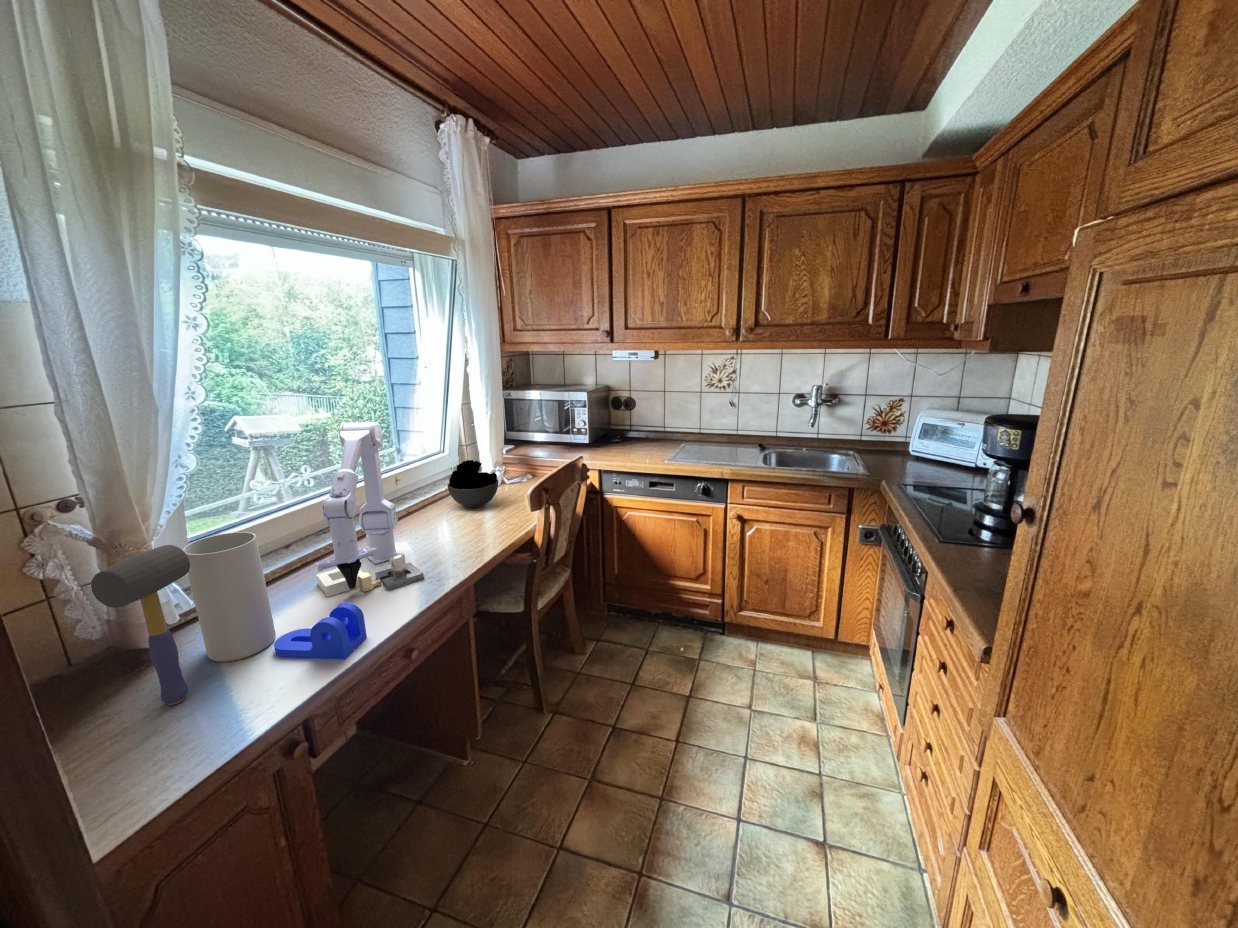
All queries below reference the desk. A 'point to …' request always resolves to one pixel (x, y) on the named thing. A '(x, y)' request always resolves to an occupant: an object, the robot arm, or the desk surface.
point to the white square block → (334, 582)
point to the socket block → (391, 583)
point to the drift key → (367, 582)
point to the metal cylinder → (398, 565)
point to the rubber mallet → (149, 606)
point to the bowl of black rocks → (472, 484)
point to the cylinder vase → (230, 595)
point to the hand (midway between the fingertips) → (352, 587)
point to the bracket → (326, 636)
